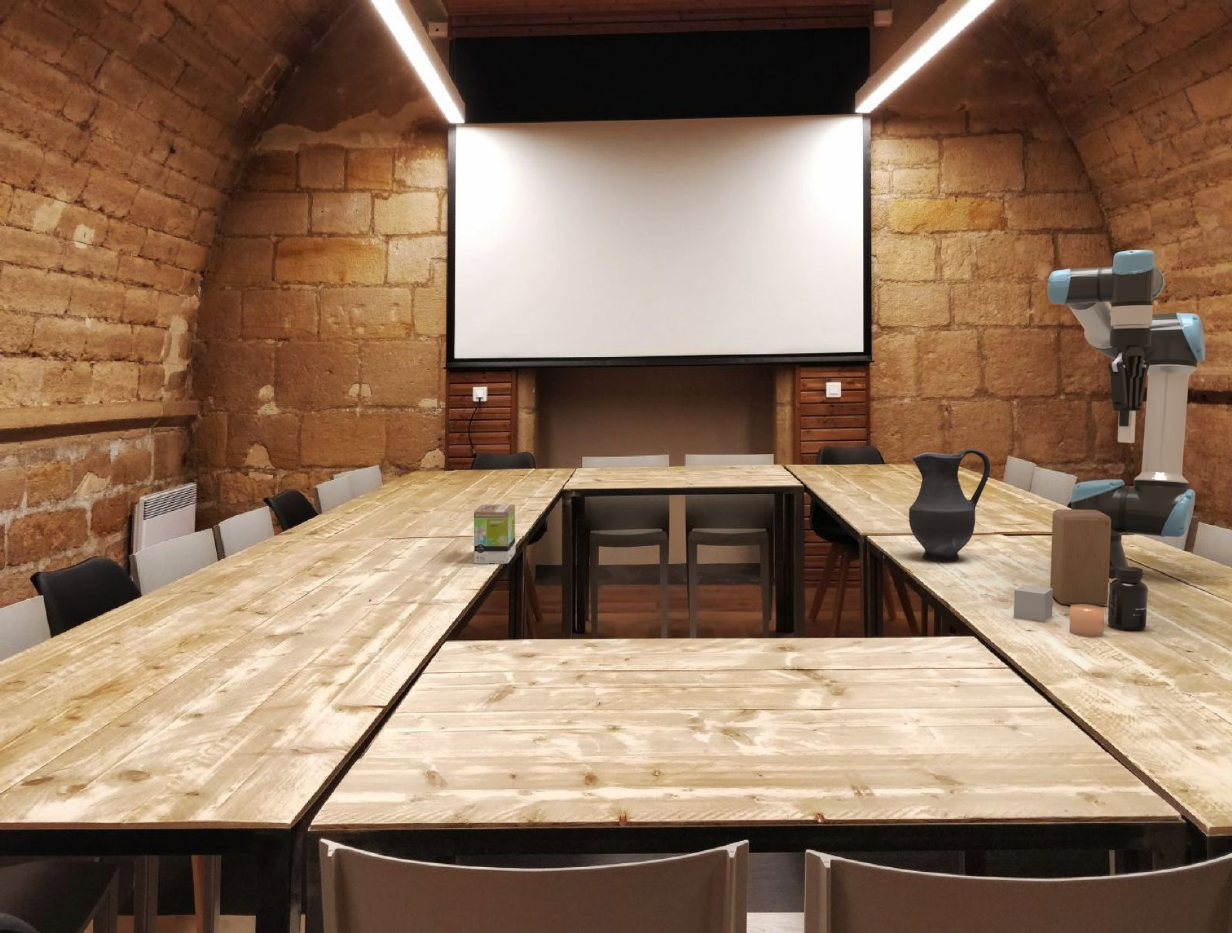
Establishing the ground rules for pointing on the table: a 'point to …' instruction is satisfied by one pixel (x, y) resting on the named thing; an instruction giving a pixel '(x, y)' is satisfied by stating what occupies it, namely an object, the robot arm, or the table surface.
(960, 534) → the pitcher
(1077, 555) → the wooden block
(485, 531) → the tea box
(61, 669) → the table surface
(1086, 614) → the terracotta puck
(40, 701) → the table surface
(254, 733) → the table surface
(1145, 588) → the supplement bottle
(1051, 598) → the grey cube
